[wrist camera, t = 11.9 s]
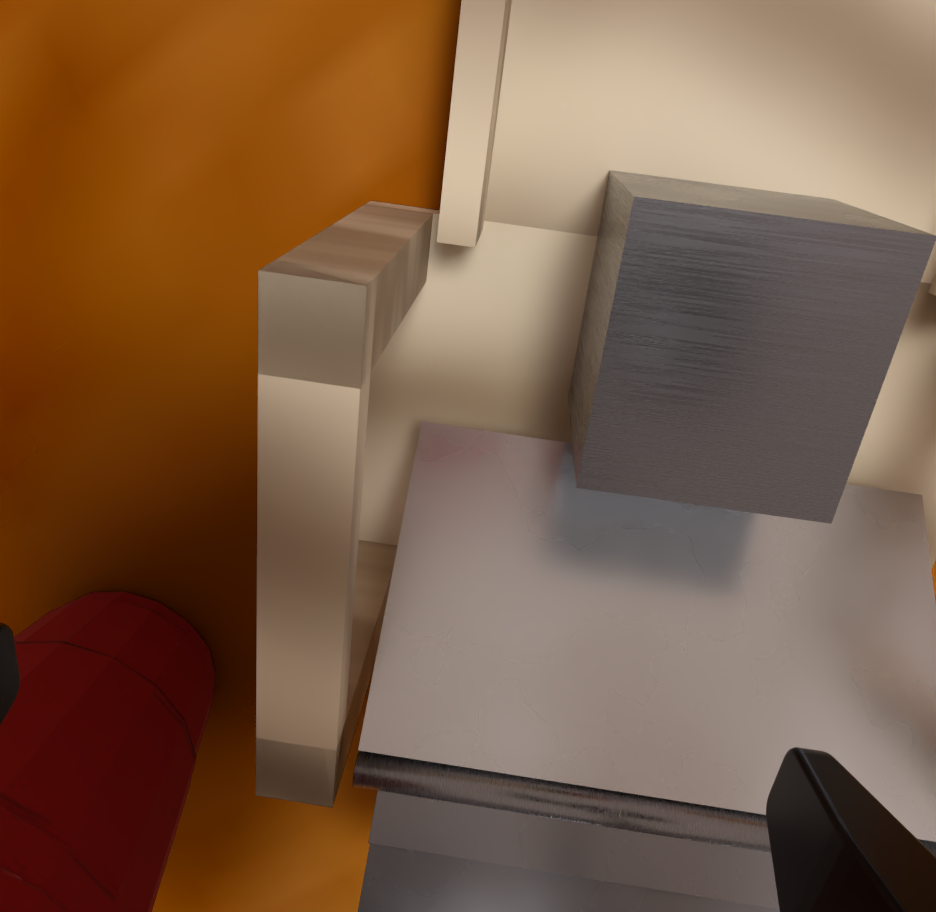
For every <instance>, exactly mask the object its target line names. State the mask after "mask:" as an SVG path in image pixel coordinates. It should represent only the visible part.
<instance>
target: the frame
mask: <svg viewBox="0 0 936 912" xmlns="http://www.w3.org/2000/svg"><path fill="white" fill-rule="evenodd" d="M609 170H613V171H621V172H628V173H636V174H644V175H652V176H659V177H667V178H675V179H682V180H690V181H698V182H705V183H713V184H721V185H729V186H736V187H744V188H752V189H759V190H767V191H775V192H782V193H790V194H798V195H806V196H813V197H821V198H829V199H834V200H837V201H840V202H843V203H846V204H848V205H851V206H854V207H857V208H860V209H863V210H865V211H868V212H871V213H874V214H877V215H879V216H882V217H885V218H888V219H891V220H894V221H896V222H899V223H902V224H905V225H908V226H910V227H913V228H916V229H919V230H922V231H925V232H927V233H930V234H933V235H936V0H462V1H461V11H460V21H459V30H458V40H457V50H456V59H455V69H454V79H453V88H452V98H451V108H450V118H449V127H448V137H447V147H446V156H445V166H444V176H443V185H442V195H441V205H440V210H432V209H425V208H418V207H411V206H404V205H397V204H390V203H383V202H375V201H370V202H368V203H366V204H365V205H363V206H362V207H360V208H358V209H357V210H355V211H354V212H352V213H350V214H349V215H347V216H345V217H344V218H342V219H341V220H339V221H337V222H336V223H334V224H333V225H331V226H329V227H328V228H326V229H325V230H323V231H321V232H320V233H318V234H317V235H315V236H313V237H312V238H310V239H308V240H307V241H305V242H304V243H302V244H300V245H299V246H297V247H296V248H294V249H292V250H291V251H289V252H288V253H286V254H284V255H283V256H281V257H279V258H278V259H276V260H275V261H273V262H271V263H270V264H268V265H267V266H265V267H263V268H262V269H260V270H259V286H258V471H257V656H256V795H257V796H263V797H270V798H276V799H282V800H288V801H295V802H301V803H307V804H313V805H320V806H326V807H333V804H334V801H335V797H336V794H337V790H338V787H339V783H340V780H341V777H342V773H343V770H344V766H345V763H346V759H347V756H348V753H349V749H350V746H351V742H352V739H353V736H354V732H355V729H356V725H357V722H358V718H359V715H360V712H361V708H362V705H363V701H364V698H365V694H366V691H367V688H368V684H369V681H370V677H371V674H372V671H373V667H374V664H375V660H376V655H377V650H378V645H379V639H380V634H381V629H382V624H383V619H384V614H385V608H386V603H387V598H388V593H389V588H390V583H391V577H392V572H393V567H394V562H395V557H396V552H397V546H398V541H399V536H400V531H401V526H402V521H403V515H404V510H405V505H406V500H407V495H408V490H409V484H410V479H411V474H412V469H413V464H414V459H415V453H416V448H417V443H418V438H419V433H420V428H421V422H422V421H423V422H430V423H437V424H444V425H450V426H457V427H464V428H471V429H478V430H484V431H491V432H498V433H505V434H512V435H518V436H525V437H532V438H539V439H546V440H552V441H559V442H566V443H572V438H571V427H570V416H569V404H568V394H569V389H570V383H571V378H572V372H573V367H574V362H575V356H576V351H577V345H578V340H579V334H580V329H581V323H582V318H583V312H584V307H585V301H586V296H587V290H588V285H589V279H590V274H591V269H592V263H593V258H594V252H595V247H596V241H597V236H598V230H599V225H600V219H601V214H602V208H603V203H604V197H605V192H606V187H607V181H608V176H609ZM846 484H851V485H858V486H865V487H871V488H878V489H885V490H892V491H899V492H905V493H912V494H919V495H922V497H923V505H924V513H925V521H926V530H927V538H928V546H929V554H930V562H931V569H932V567H933V565H934V562H935V560H936V241H935V244H934V247H933V249H932V252H931V255H930V258H929V260H928V263H927V266H926V268H925V271H924V274H923V277H922V279H921V282H920V285H919V287H918V290H917V293H916V296H915V298H914V301H913V304H912V306H911V309H910V312H909V315H908V317H907V320H906V323H905V325H904V328H903V331H902V334H901V336H900V339H899V342H898V344H897V347H896V350H895V353H894V355H893V358H892V361H891V363H890V366H889V369H888V372H887V374H886V377H885V380H884V382H883V385H882V388H881V391H880V393H879V396H878V399H877V401H876V404H875V407H874V410H873V412H872V415H871V418H870V420H869V423H868V426H867V429H866V431H865V434H864V437H863V439H862V442H861V445H860V448H859V450H858V453H857V456H856V458H855V461H854V464H853V466H852V469H851V472H850V475H849V477H848V480H847V483H846Z"/></svg>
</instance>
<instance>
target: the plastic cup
mask: <svg viewBox="0 0 936 912" xmlns="http://www.w3.org/2000/svg"><path fill="white" fill-rule="evenodd" d="M14 642H15V648H16V654H17V660H18V666H19V672H20V687H19V691H18V694H17V697H16V699H15V701H14V703H13V705H12V706H11V708H10V710H9V712H8V713H7V715H6V717H5V718H4V720H3V722H2V724H1V725H0V912H152V909H153V905H154V902H155V899H156V895H157V892H158V889H159V886H160V882H161V879H162V876H163V872H164V869H165V866H166V862H167V859H168V856H169V853H170V849H171V846H172V843H173V839H174V836H175V833H176V829H177V826H178V823H179V820H180V816H181V813H182V810H183V806H184V803H185V800H186V796H187V793H188V790H189V786H190V782H191V777H192V773H193V769H194V764H195V760H196V753H197V750H198V747H199V744H200V741H201V738H202V735H203V731H204V728H205V725H206V722H207V719H208V716H209V711H210V707H211V703H212V698H213V694H214V681H215V677H216V673H215V669H214V666H213V662H212V658H211V655H210V651H209V648H208V646H207V645H206V644H205V642H204V641H203V640H202V639H201V637H200V636H199V635H198V633H197V632H196V631H195V629H194V628H193V627H192V626H191V624H190V623H189V622H188V621H186V620H185V619H184V618H182V617H181V616H179V615H178V614H176V613H175V612H173V611H172V610H170V609H169V608H167V607H166V606H164V605H163V604H161V603H160V602H157V601H154V600H151V599H148V598H144V597H141V596H138V595H135V594H132V593H128V592H92V593H89V594H87V595H85V596H82V597H80V598H78V599H76V600H73V601H71V602H69V603H67V604H65V605H64V606H61V607H59V608H57V609H54V610H52V611H50V612H48V613H47V614H45V615H44V616H43V617H41V618H40V619H39V620H37V621H36V622H34V623H33V624H32V625H30V626H29V627H28V628H26V629H25V630H23V631H22V632H21V633H19V634H18V635H17V636H15V637H14Z"/></svg>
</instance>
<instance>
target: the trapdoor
mask: <svg viewBox="0 0 936 912" xmlns="http://www.w3.org/2000/svg"><path fill="white" fill-rule="evenodd" d="M794 747H800V748H806V749H813V750H819V751H824V752H827V753H829V754H830V755H832V756H833V757H834V758H835V759H836V760H837V761H838V762H839V763H840V764H841V765H842V766H844V767H845V768H846V769H847V770H848V771H849V772H850V773H851V774H852V775H853V776H854V777H855V778H856V779H857V780H858V781H859V782H860V783H861V784H862V785H863V786H864V787H865V788H866V789H867V790H868V791H869V792H870V793H871V794H872V795H873V796H874V797H875V798H876V799H877V800H878V801H879V802H880V803H881V804H882V805H883V806H884V807H885V808H886V809H887V810H888V811H889V812H890V813H891V814H892V815H893V816H894V817H895V818H896V819H897V820H899V821H900V822H901V823H902V824H903V825H904V826H905V827H906V828H907V829H908V830H909V831H910V832H911V833H912V834H913V835H914V836H915V837H916V838H917V839H918V840H919V841H920V842H921V843H922V844H923V845H924V846H925V847H926V848H927V849H928V850H929V851H930V852H931V853H932V854H933V855H934V856H935V857H936V603H935V595H934V587H933V578H932V570H931V562H930V554H929V546H928V538H927V530H926V521H925V513H924V505H923V497H922V495H919V494H912V493H905V492H899V491H892V490H885V489H878V488H871V487H865V486H858V485H851V484H846V485H845V488H844V491H843V494H842V496H841V499H840V502H839V504H838V507H837V510H836V513H835V515H834V518H833V521H832V523H831V524H829V523H822V522H815V521H808V520H801V519H793V518H786V517H779V516H772V515H765V514H758V513H751V512H744V511H737V510H730V509H723V508H716V507H709V506H702V505H695V504H688V503H680V502H673V501H666V500H659V499H652V498H645V497H638V496H631V495H624V494H617V493H610V492H603V491H596V490H589V489H582V488H576V482H575V471H574V460H573V449H572V443H566V442H559V441H552V440H546V439H539V438H532V437H525V436H518V435H512V434H505V433H498V432H491V431H484V430H478V429H471V428H464V427H457V426H450V425H444V424H437V423H430V422H423V421H422V422H421V428H420V433H419V438H418V443H417V448H416V453H415V459H414V464H413V469H412V474H411V479H410V484H409V490H408V495H407V500H406V505H405V510H404V515H403V521H402V526H401V531H400V536H399V541H398V546H397V552H396V557H395V562H394V567H393V572H392V577H391V583H390V588H389V593H388V598H387V603H386V608H385V614H384V619H383V624H382V629H381V634H380V639H379V645H378V650H377V655H376V660H375V665H374V670H373V676H372V681H371V686H370V691H369V696H368V701H367V707H366V712H365V717H364V722H363V727H362V732H361V738H360V743H359V748H358V751H359V753H358V756H357V760H356V765H355V770H354V776H353V786H354V787H360V788H366V789H373V790H378V792H377V798H376V803H375V809H374V814H373V820H372V826H371V831H370V837H369V842H368V843H370V847H369V852H368V858H367V864H366V869H365V875H364V880H363V886H362V892H361V897H360V903H359V908H358V912H780V910H779V903H778V896H777V889H776V882H775V876H774V869H773V862H772V855H771V848H770V841H769V834H768V827H767V820H766V804H767V799H768V795H769V793H770V790H771V788H772V785H773V783H774V780H775V778H776V776H777V773H778V771H779V768H780V766H781V763H782V761H783V759H784V756H785V755H786V753H787V751H788V750H789V749H791V748H794Z"/></svg>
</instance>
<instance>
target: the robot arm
mask: <svg viewBox="0 0 936 912" xmlns="http://www.w3.org/2000/svg"><path fill="white" fill-rule="evenodd" d="M19 687H20V672H19V666H18V660H17V654H16V648H15V642H14V636H13V632H12V630H11V629H10V627H9V626H8V625H5V624H3V623H0V725H1V724H2V722H3V720H4V718H5V717H6V715H7V713H8V712H9V710H10V708H11V706H12V705H13V703H14V701H15V699H16V697H17V694H18V691H19ZM766 820H767V827H768V834H769V841H770V848H771V855H772V862H773V869H774V876H775V882H776V889H777V896H778V903H779V910H780V912H936V857H935V856H934V855H933V854H932V853H931V852H930V851H929V850H928V849H927V848H926V847H925V846H924V845H923V844H922V843H921V842H920V841H919V840H918V839H917V838H916V837H915V836H914V835H913V834H912V833H911V832H910V831H909V830H908V829H907V828H906V827H905V826H904V825H903V824H902V823H901V822H900V821H899V820H897V819H896V818H895V817H894V816H893V815H892V814H891V813H890V812H889V811H888V810H887V809H886V808H885V807H884V806H883V805H882V804H881V803H880V802H879V801H878V800H877V799H876V798H875V797H874V796H873V795H872V794H871V793H870V792H869V791H868V790H867V789H866V788H865V787H864V786H863V785H862V784H861V783H860V782H859V781H858V780H857V779H856V778H855V777H854V776H853V775H852V774H851V773H850V772H849V771H848V770H847V769H846V768H845V767H844V766H842V765H841V764H840V763H839V762H838V761H837V760H836V759H835V758H834V757H833V756H832V755H830V754H829V753H827V752H824V751H819V750H813V749H806V748H800V747H794V748H791V749H789V750H788V751H787V753H786V755H785V756H784V759H783V761H782V763H781V766H780V768H779V771H778V773H777V776H776V778H775V780H774V783H773V785H772V788H771V790H770V793H769V795H768V799H767V804H766Z"/></svg>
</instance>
